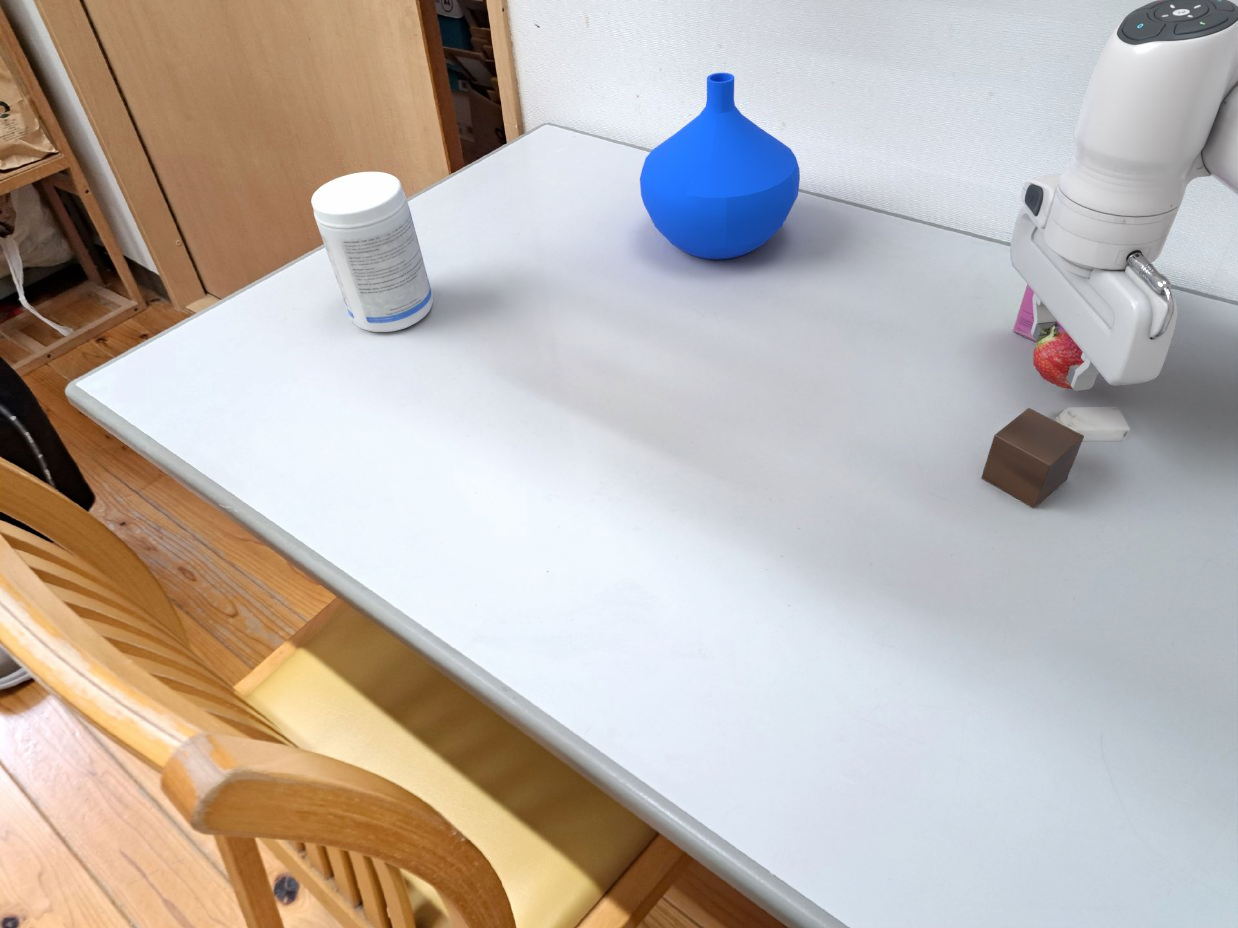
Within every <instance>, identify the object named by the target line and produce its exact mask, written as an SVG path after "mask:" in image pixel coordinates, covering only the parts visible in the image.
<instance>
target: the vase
mask: <svg viewBox="0 0 1238 928" xmlns="http://www.w3.org/2000/svg"><path fill="white" fill-rule="evenodd" d="M800 173H801V172H800V167H799V162H798V160H797V157H796V155H795V154H794V152H793V150H792V149H791V148H790V146H788V145H786V144H785V143H783V141H781V140H779V139H777V138H776V137H774V136H773V135H772V134H770V133H769V132H767V131H766V130H764V129H762V128H761V127H760V126H758V125H757V124H756V123H755V122H753V121H752V120H750V119H749V118H748V117H746V116H745V115H744V114H742V112H741V111H740V110H739V108H738V107H737V106H736V104H735V75H734V74H732V73H728V72H714V73H710V74H709V75H708V76H706V103H705V107H704V108H703V109H702V110H701V111H700V113H699V114H698V115H697V116H696V117H694V118H693V119H692V120H690V121H689V122H688V123H687V124H686V125H684V126H683V127H681V128H680V129H679V130H678V131H677V132H676V133H674V134H673V135H671V136H670V137H668V138H667V139H666V140H664V141H663V142H661V143H660V144H659V145H657V146H655V147H654V148H653V149H652V150H650V152H649V153H648V155H646V157H645V159H644V161H643V165H642V168H641V172H640V176H639V177H640V178H639V186H640V197H641V199H642V203H643V205H644V207H645V210H646V212H647V214H648V216H649V218H650V220H651V222H652V223H653V226H654V227H655V229H657V230H658V232H659V233H660V234H662V236H663V237H664V238H665V239H666V240H667V241H668V242H669V243H670V245H672V246H674V247H676V248H677V249H679V250H681V251H683V252H684V253H686V254H688V255H690V256H693V257H696V258H700V259H707V260H727V259H735V258H738V257H741V256H744V255H747V254H749V253H751V252H752V251H754V250H756V249H758V248H760V247H762V246H764V244H765V243H767V242H768V241H769V240H770V239H771V238H772V237H773V236H774V235H775V234H776V233H777V232H778V231H779V230H780V229H781V228H782V226H783V225H784V223H785V222H786V220H787V217H788V216H789V214H790V211H791V210H792V208H793V206H794V204H795V203H796V200H797V199H798V197H799V192H800V191H799V190H800V180H801V175H800Z"/></svg>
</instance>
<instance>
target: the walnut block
mask: <svg viewBox="0 0 1238 928" xmlns="http://www.w3.org/2000/svg"><path fill="white" fill-rule="evenodd" d="M1084 438H1085V435H1083V434H1082V433H1079V432H1077V431H1075V430H1073V429H1072V428H1069V427H1068V426H1065V425H1063V424H1062V423H1060V422H1058V421H1057V420H1054V419H1052V418H1051V417H1048V416H1046V415H1044V414H1042V413H1040V412H1038V411H1036V410H1034V409H1032V408H1030V407H1028V408H1026V409H1025V410H1024V411H1022V412H1021V413H1020V414H1019V415H1017V416H1016V417H1015V418H1014V419H1012V420H1011V421H1010V422H1009V423H1008V424H1006V425H1005V426H1003V428H1001V429H1000V430H999V431H997V432H996V433H995V434H994V435H993V438H992V441H991V445H990V448H989V451H988V455H987V457H986V461H985V464H984V468H983V471H982V474H981V479H982V480H984V481H986V482H987V483H989V484H991V485H993V486H994V487H996V488H998V489H1000V490H1002V491H1003V492H1004V493H1006V494H1008V495H1010V496H1011V497H1013V498H1015V499H1017V500H1019V501H1021V502H1022V503H1024V504H1025V505H1027V506H1029V507H1030V508H1032V509H1035V508H1036V507H1038V506H1039V505H1040V504H1041V503H1042V502H1043V501H1044V500H1046V498H1048V497H1049V496H1050V495H1051V494H1052V493H1053V492H1055V490H1057V489H1058V488H1059V487H1060V486H1061V485H1062V484H1063V483H1065V482H1066V481H1067V480H1068V477H1069V475H1070V473H1071V470H1072V468H1073V466H1074V463H1075V460H1076V458H1077V455H1078V453H1079V450H1080V448H1081V445H1082V443H1083V441H1084Z"/></svg>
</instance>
